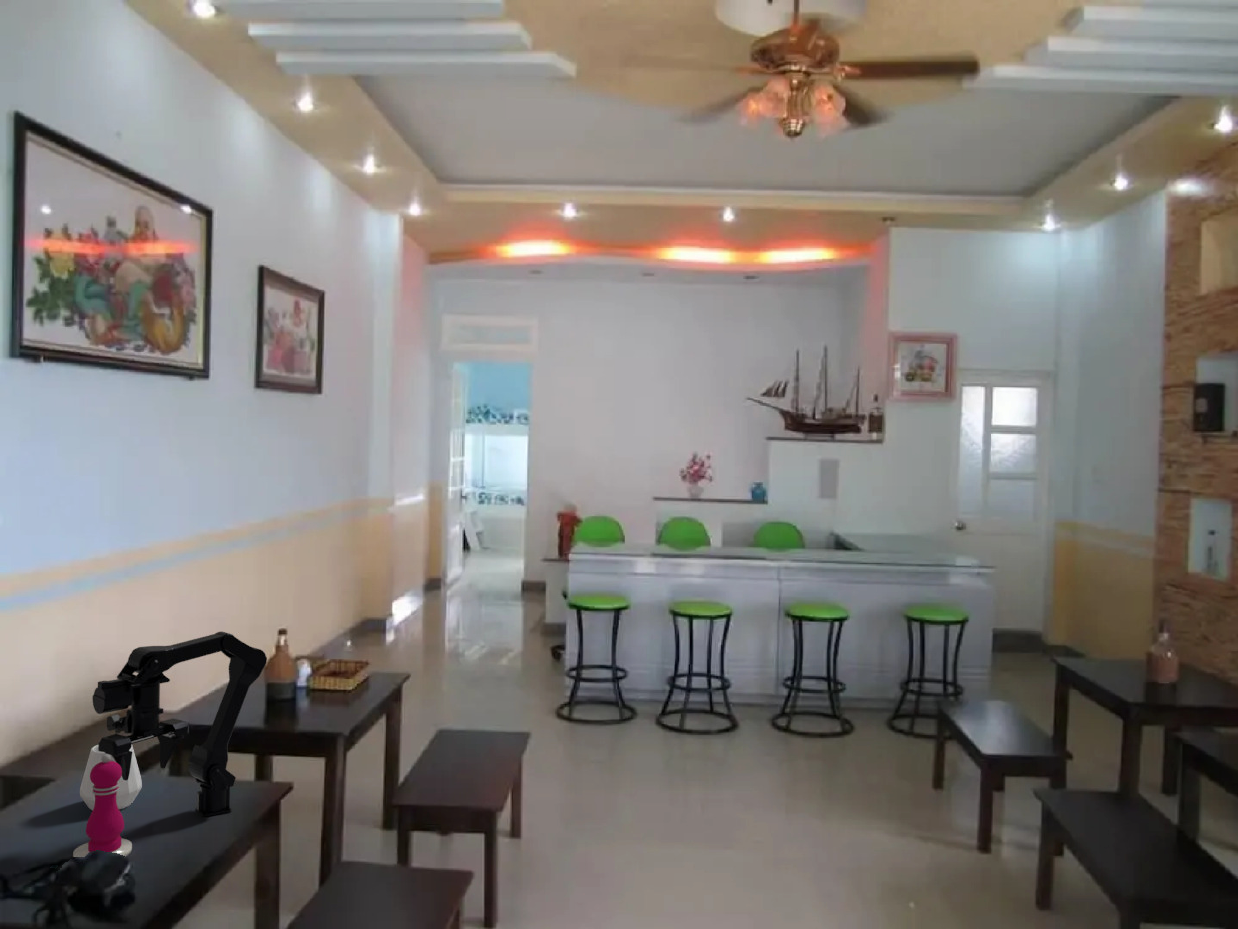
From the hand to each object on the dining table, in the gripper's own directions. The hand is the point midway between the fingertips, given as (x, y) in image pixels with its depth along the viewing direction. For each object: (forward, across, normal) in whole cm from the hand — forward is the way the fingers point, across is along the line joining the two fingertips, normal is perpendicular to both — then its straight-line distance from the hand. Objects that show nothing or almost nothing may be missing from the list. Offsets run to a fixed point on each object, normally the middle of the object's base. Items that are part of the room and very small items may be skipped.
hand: (144, 774), depth 218 cm
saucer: (+13, +12, +3) cm, 18 cm away
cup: (+13, -6, -20) cm, 25 cm away
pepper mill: (+12, +11, +3) cm, 17 cm away
